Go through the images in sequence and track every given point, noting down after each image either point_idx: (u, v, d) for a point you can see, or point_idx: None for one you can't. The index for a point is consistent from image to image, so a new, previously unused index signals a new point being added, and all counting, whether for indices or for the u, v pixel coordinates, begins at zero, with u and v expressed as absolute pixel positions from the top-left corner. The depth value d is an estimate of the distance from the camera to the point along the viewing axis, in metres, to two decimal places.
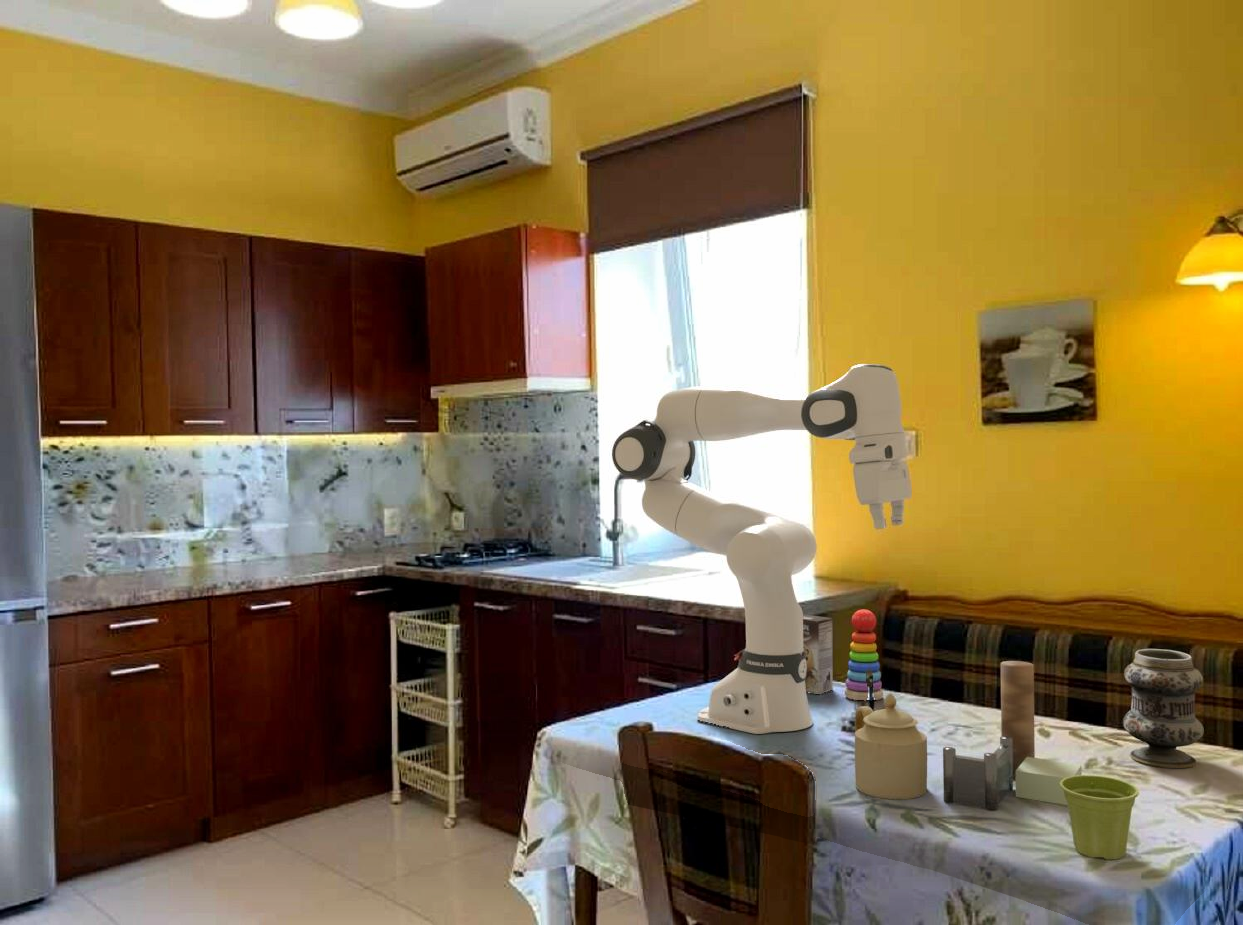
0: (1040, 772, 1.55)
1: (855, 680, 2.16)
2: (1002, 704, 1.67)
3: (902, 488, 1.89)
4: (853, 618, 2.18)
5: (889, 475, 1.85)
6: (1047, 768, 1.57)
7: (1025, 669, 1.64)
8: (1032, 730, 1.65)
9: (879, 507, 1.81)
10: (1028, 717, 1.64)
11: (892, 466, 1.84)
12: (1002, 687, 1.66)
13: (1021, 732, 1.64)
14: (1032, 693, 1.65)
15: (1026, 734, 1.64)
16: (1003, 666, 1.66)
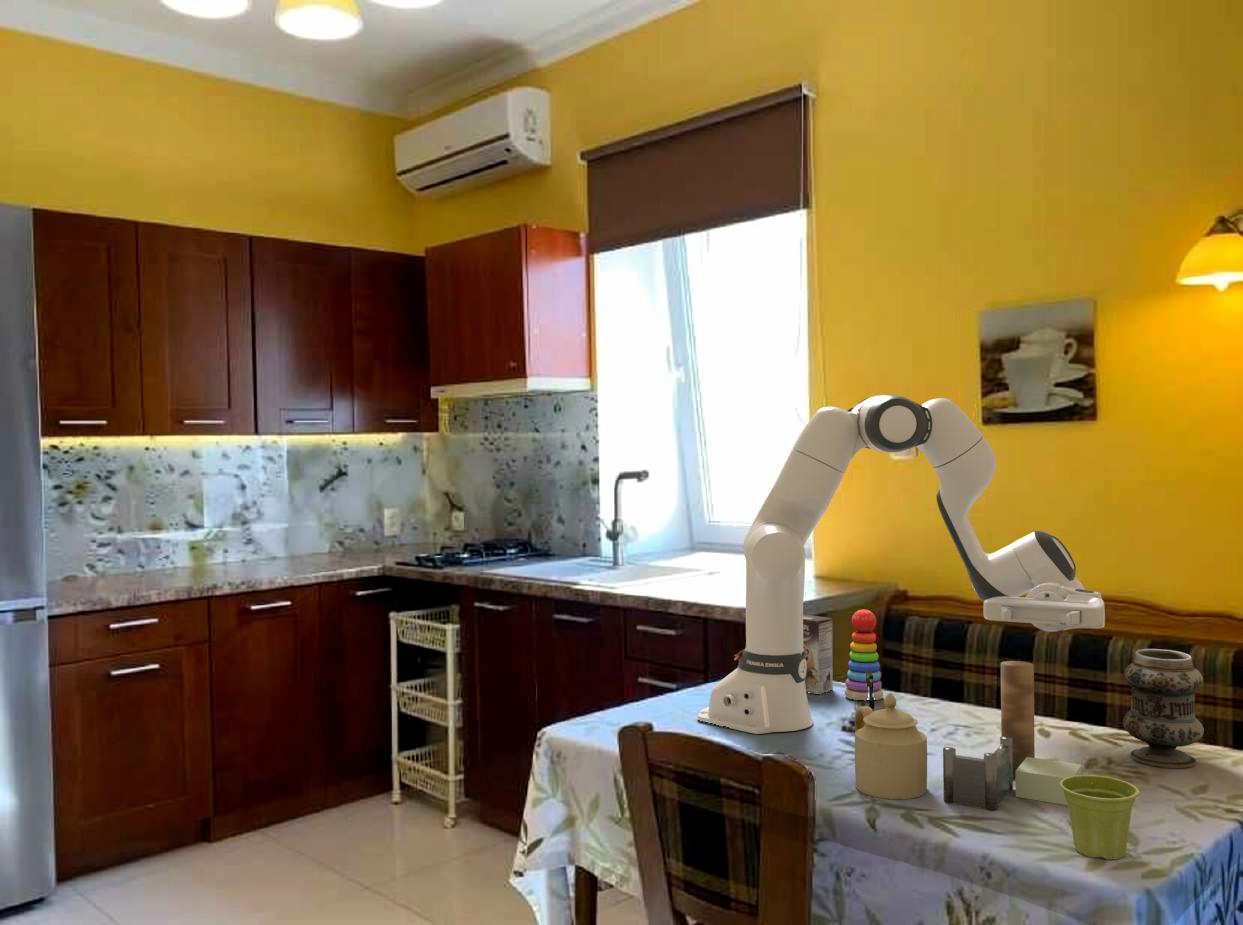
0: (1040, 772, 1.55)
1: (855, 680, 2.16)
2: (1002, 704, 1.67)
3: None
4: (853, 618, 2.18)
5: None
6: (1047, 768, 1.57)
7: (1025, 669, 1.64)
8: (1032, 730, 1.65)
9: (1079, 622, 1.78)
10: (1028, 717, 1.64)
11: None
12: (1002, 687, 1.66)
13: (1021, 732, 1.64)
14: (1032, 693, 1.65)
15: (1026, 734, 1.64)
16: (1003, 666, 1.66)
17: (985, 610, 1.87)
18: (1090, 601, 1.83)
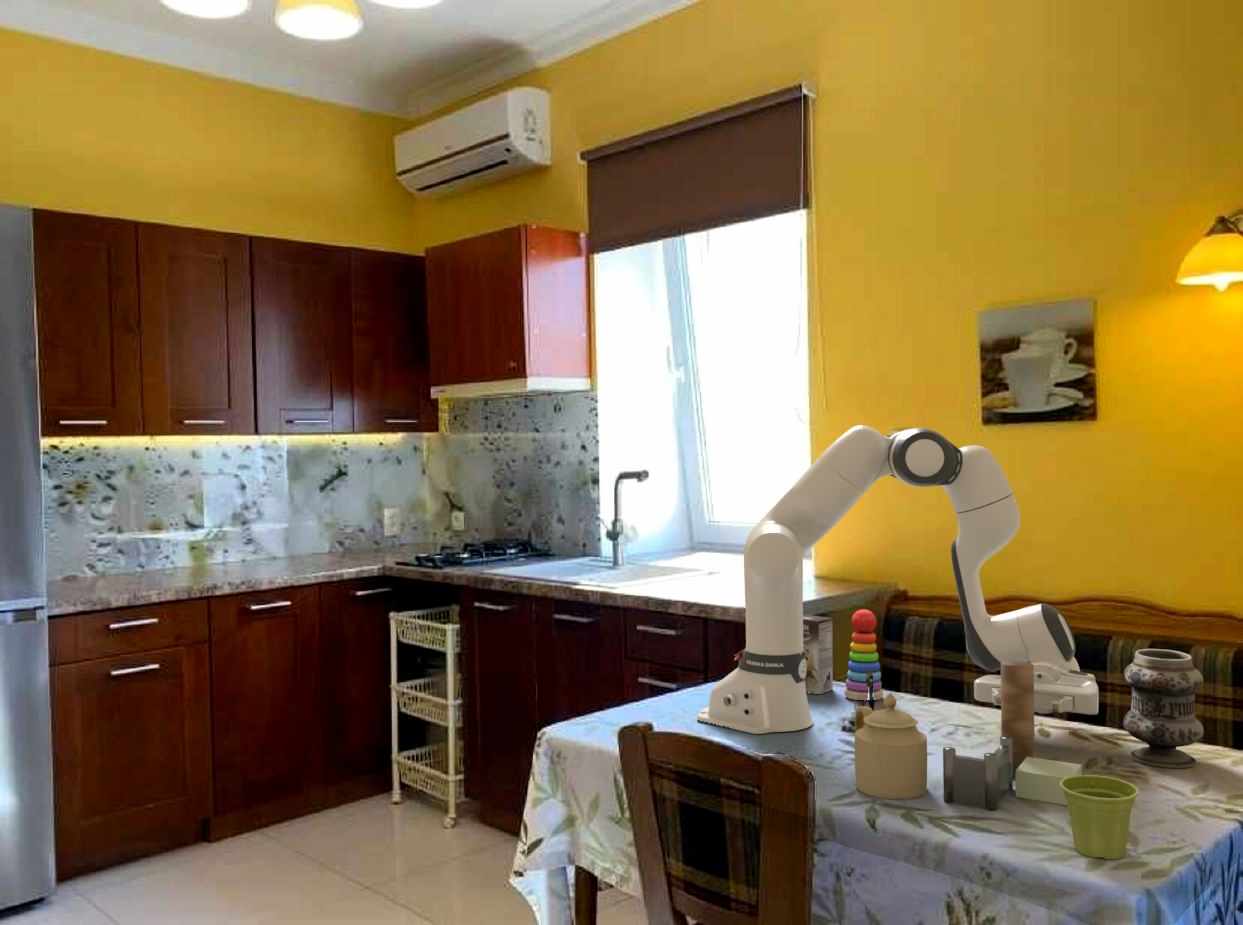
0: (1040, 772, 1.55)
1: (855, 680, 2.16)
2: (1002, 704, 1.67)
3: None
4: (853, 618, 2.18)
5: None
6: (1047, 768, 1.57)
7: (1025, 669, 1.64)
8: (1032, 730, 1.65)
9: (1072, 708, 1.72)
10: (1028, 717, 1.64)
11: None
12: (1002, 687, 1.66)
13: (1021, 732, 1.64)
14: (1032, 693, 1.65)
15: (1026, 734, 1.64)
16: (1003, 666, 1.66)
17: (975, 691, 1.82)
18: (1083, 685, 1.77)
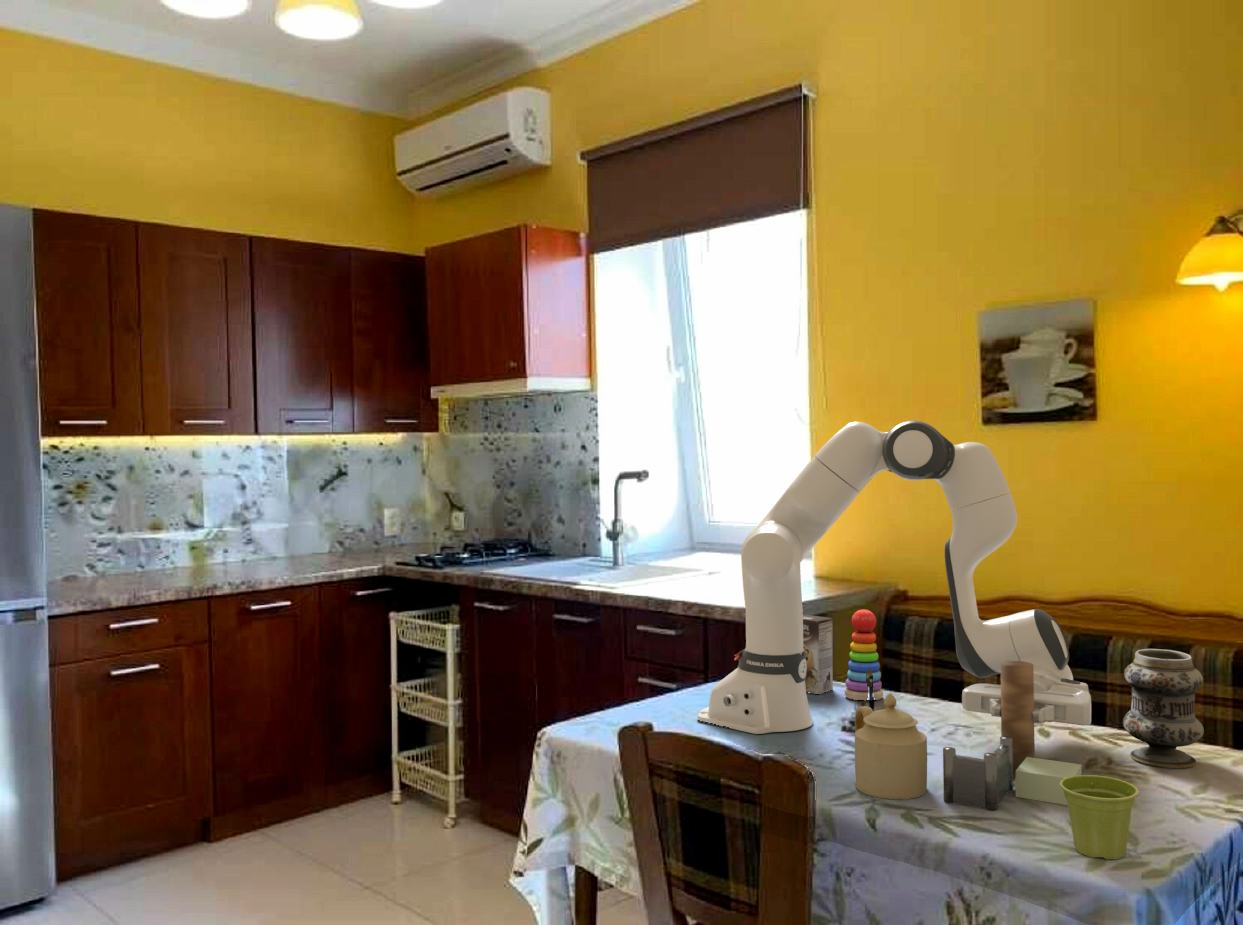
0: (1040, 772, 1.55)
1: (855, 680, 2.16)
2: (1002, 704, 1.67)
3: None
4: (853, 618, 2.18)
5: None
6: (1047, 768, 1.57)
7: (1025, 669, 1.64)
8: (1032, 730, 1.65)
9: (1054, 717, 1.66)
10: (1028, 717, 1.64)
11: None
12: (1002, 687, 1.66)
13: (1021, 732, 1.64)
14: (1032, 693, 1.65)
15: (1026, 734, 1.64)
16: (1003, 666, 1.66)
17: (964, 700, 1.75)
18: (1076, 694, 1.70)
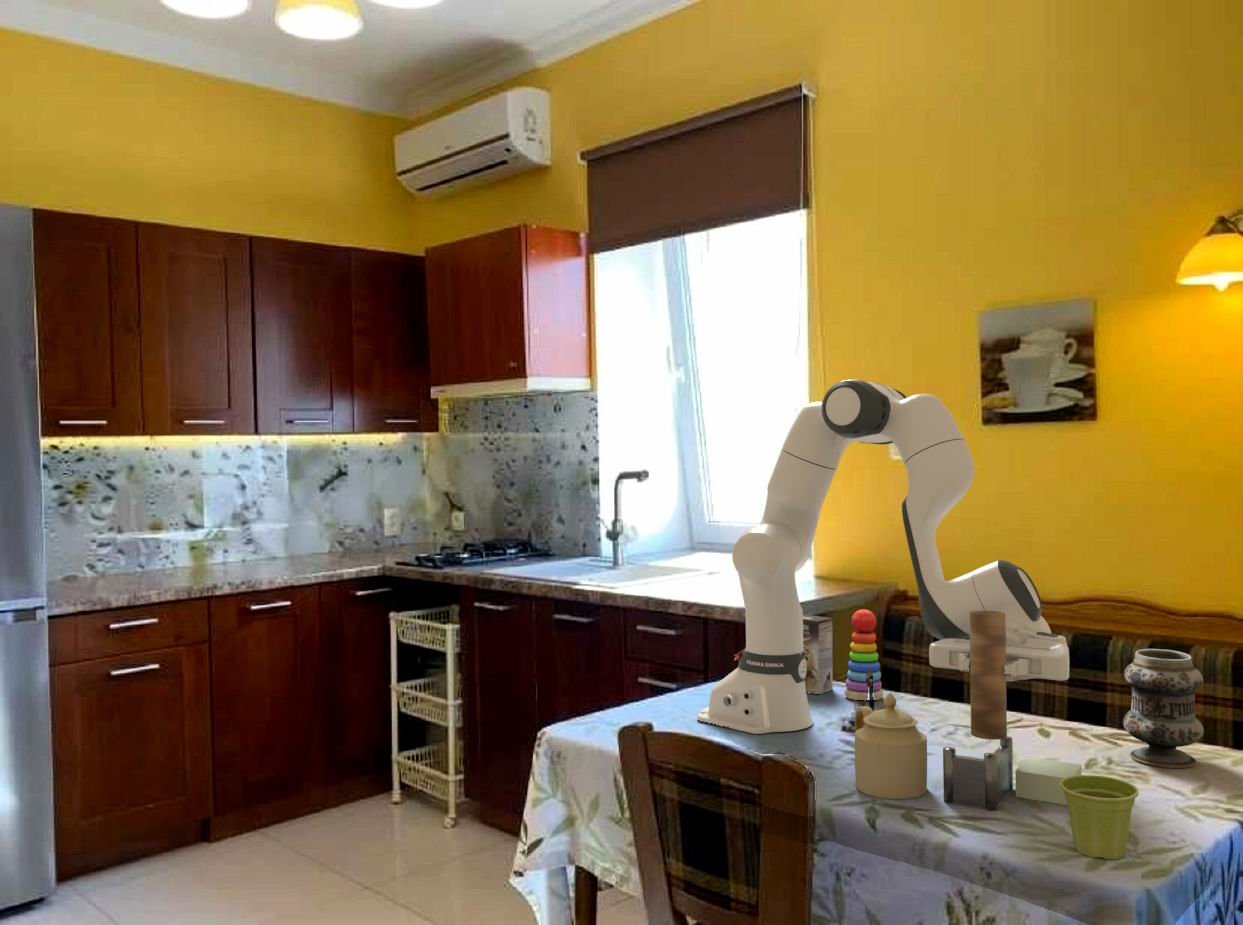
0: (1040, 772, 1.55)
1: (855, 680, 2.16)
2: (971, 657, 1.51)
3: None
4: (853, 618, 2.18)
5: None
6: (1047, 768, 1.57)
7: (996, 618, 1.49)
8: (1004, 685, 1.50)
9: (1028, 672, 1.51)
10: (999, 671, 1.49)
11: None
12: (971, 638, 1.51)
13: (992, 687, 1.49)
14: (1004, 644, 1.50)
15: (997, 689, 1.49)
16: (972, 615, 1.51)
17: (931, 655, 1.60)
18: (1052, 648, 1.55)
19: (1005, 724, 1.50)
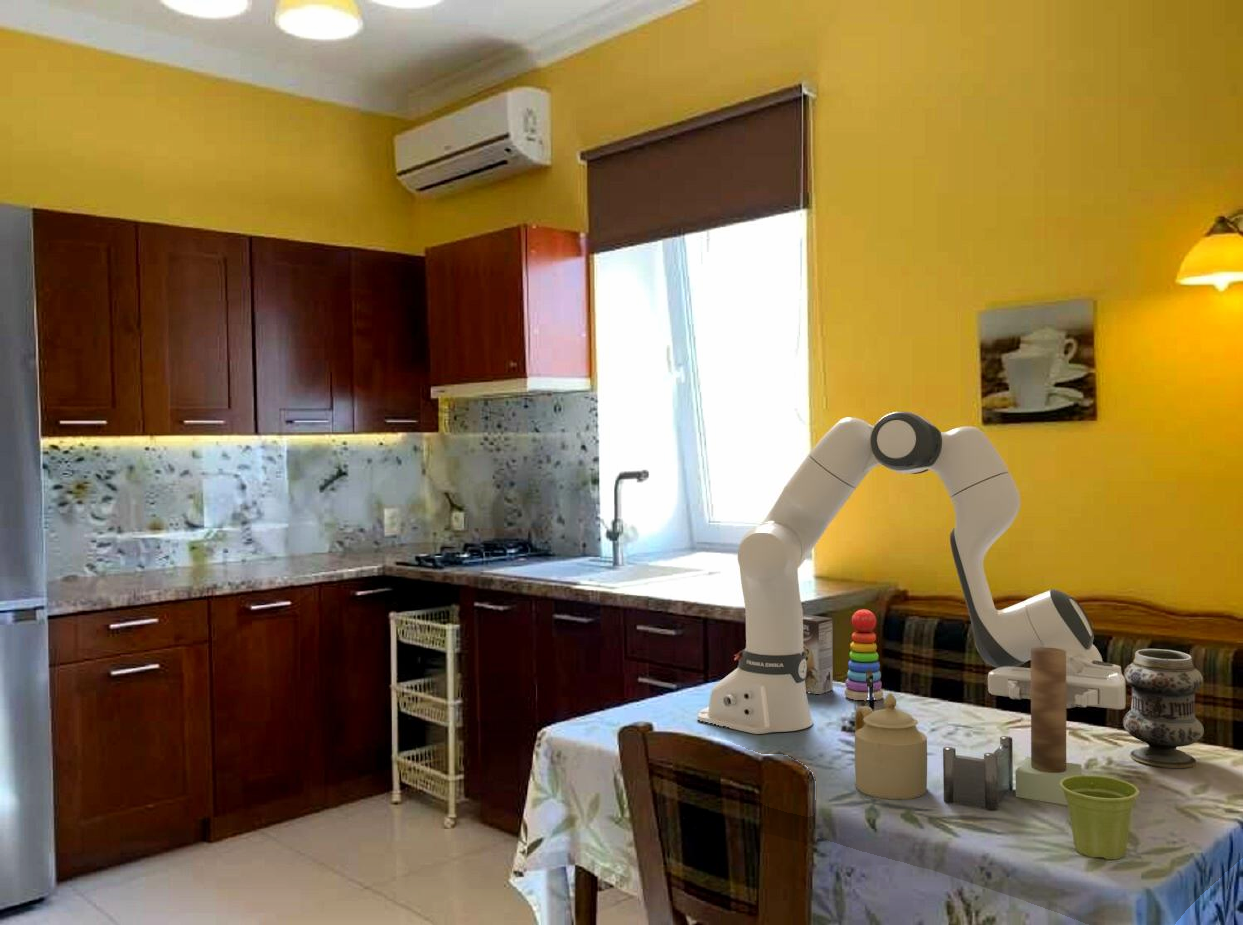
0: (1040, 772, 1.55)
1: (855, 680, 2.16)
2: (1032, 693, 1.57)
3: None
4: (853, 618, 2.18)
5: None
6: None
7: (1057, 656, 1.55)
8: (1064, 720, 1.56)
9: (1097, 702, 1.56)
10: (1060, 707, 1.55)
11: None
12: (1032, 674, 1.57)
13: (1053, 722, 1.55)
14: (1064, 681, 1.56)
15: (1058, 724, 1.55)
16: (1034, 653, 1.57)
17: (990, 684, 1.66)
18: (1109, 677, 1.61)
19: (1065, 758, 1.56)
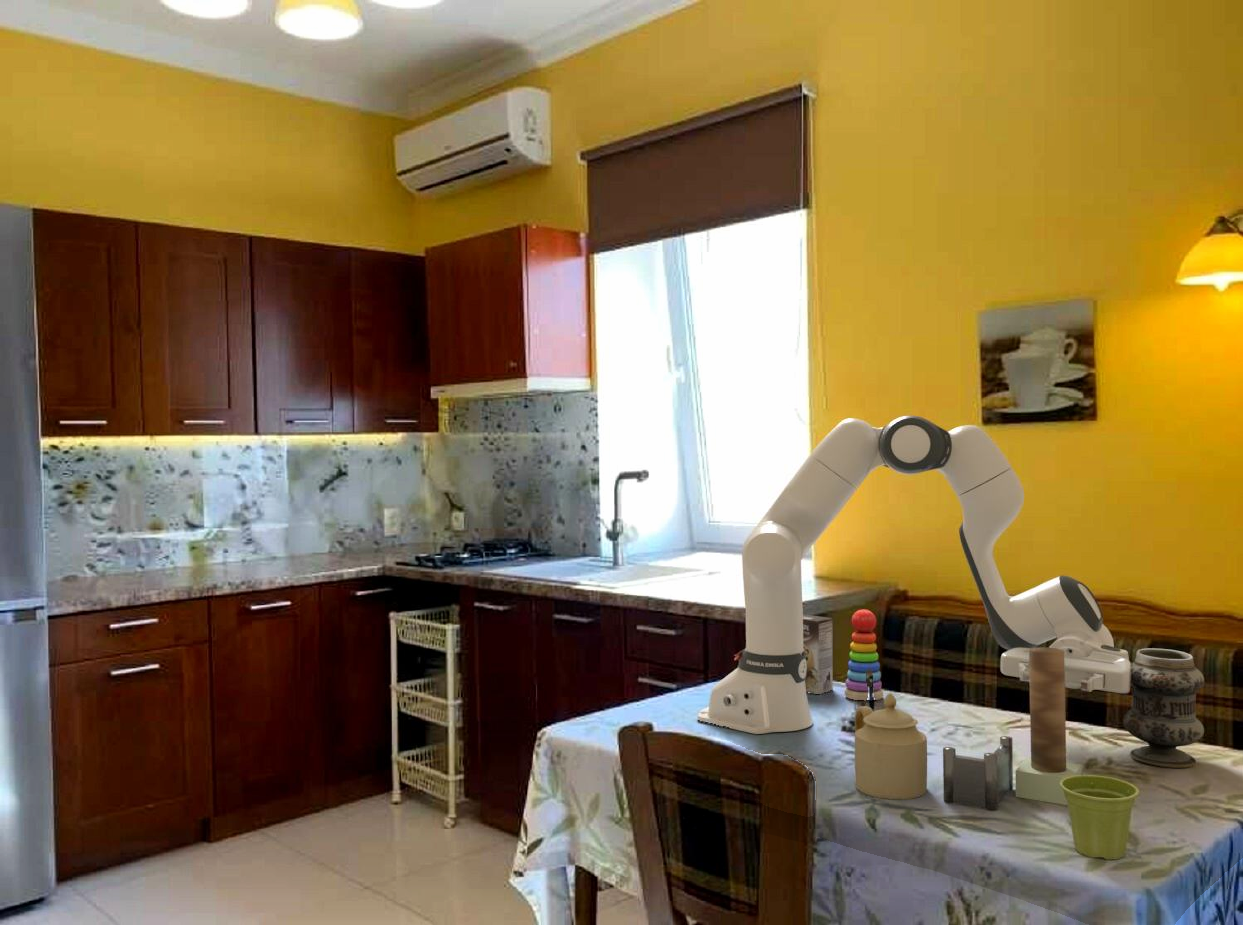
0: (1040, 772, 1.55)
1: (855, 680, 2.16)
2: (1031, 693, 1.57)
3: None
4: (853, 618, 2.18)
5: None
6: None
7: (1055, 655, 1.55)
8: (1063, 720, 1.56)
9: (1102, 686, 1.66)
10: (1059, 706, 1.55)
11: None
12: (1031, 675, 1.57)
13: (1052, 722, 1.55)
14: (1063, 681, 1.56)
15: (1057, 724, 1.55)
16: (1032, 653, 1.57)
17: (1002, 664, 1.76)
18: (1115, 662, 1.71)
19: (1065, 757, 1.56)
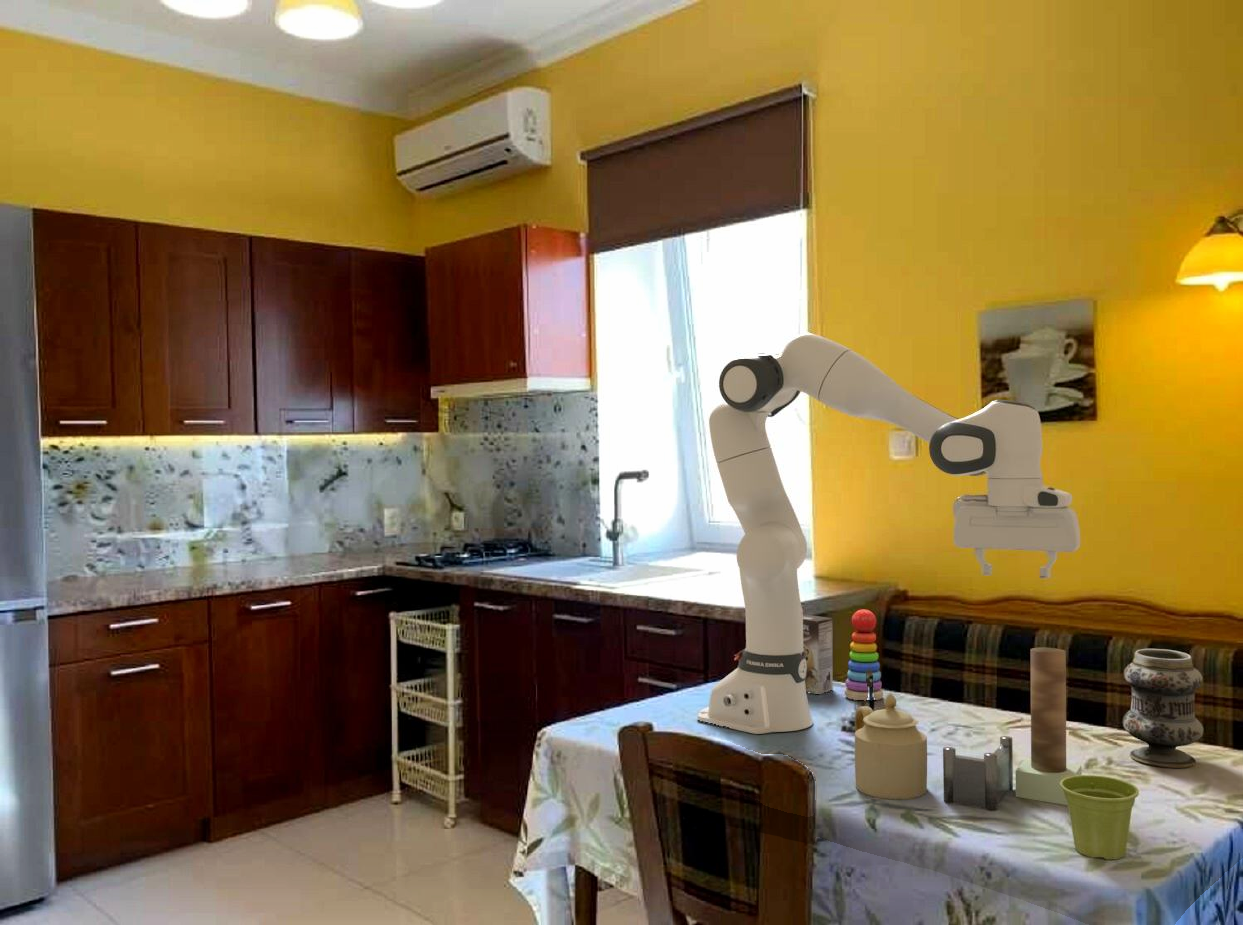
0: (1040, 772, 1.55)
1: (855, 680, 2.16)
2: (1032, 693, 1.57)
3: None
4: (853, 618, 2.18)
5: None
6: None
7: (1057, 656, 1.55)
8: (1064, 720, 1.56)
9: (1057, 554, 1.72)
10: (1060, 707, 1.55)
11: None
12: (1032, 674, 1.57)
13: (1053, 722, 1.55)
14: (1064, 681, 1.56)
15: (1058, 724, 1.55)
16: (1033, 653, 1.57)
17: None
18: (1058, 518, 1.69)
19: (1065, 758, 1.56)
